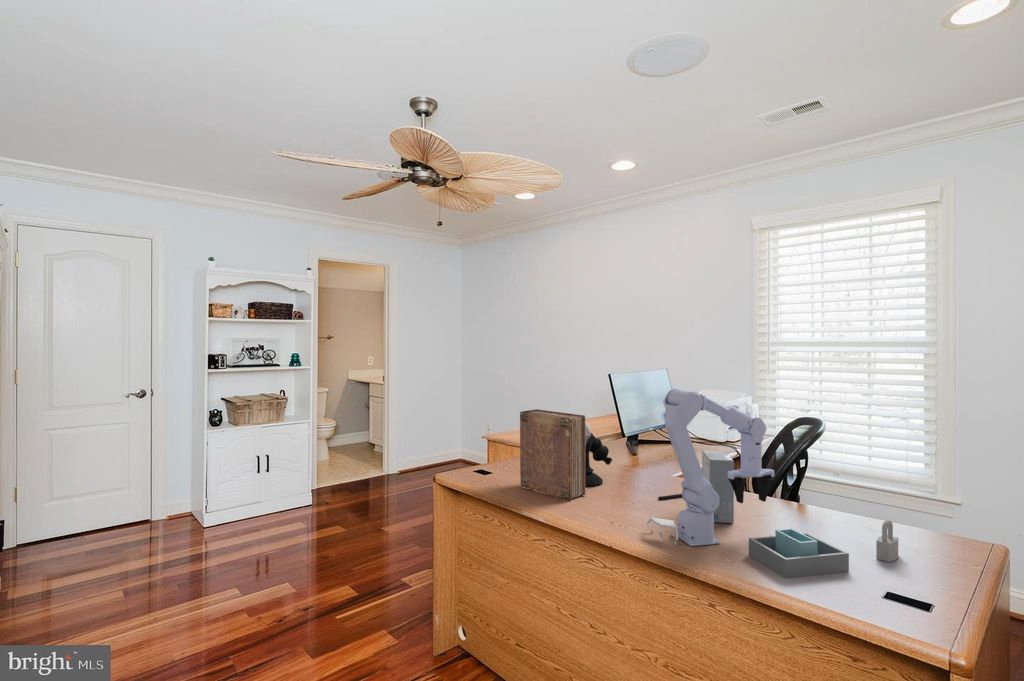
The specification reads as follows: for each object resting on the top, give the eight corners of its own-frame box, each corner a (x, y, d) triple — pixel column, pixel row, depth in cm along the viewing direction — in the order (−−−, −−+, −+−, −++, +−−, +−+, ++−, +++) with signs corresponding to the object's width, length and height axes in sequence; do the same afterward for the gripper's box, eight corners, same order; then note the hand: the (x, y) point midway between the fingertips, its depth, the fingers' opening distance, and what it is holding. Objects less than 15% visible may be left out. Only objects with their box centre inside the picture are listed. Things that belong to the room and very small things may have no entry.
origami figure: (689, 538, 151) (689, 521, 151) (676, 547, 145) (676, 529, 145) (651, 528, 159) (651, 512, 159) (638, 536, 153) (637, 519, 153)
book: (586, 496, 192) (585, 415, 192) (570, 501, 186) (570, 418, 186) (536, 482, 211) (535, 409, 211) (520, 487, 204) (519, 411, 204)
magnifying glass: (648, 496, 194) (648, 491, 194) (714, 488, 205) (714, 483, 205) (671, 507, 181) (671, 501, 181) (740, 497, 192) (740, 492, 192)
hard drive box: (734, 524, 163) (734, 461, 163) (708, 522, 164) (708, 460, 164) (724, 508, 178) (724, 450, 178) (701, 507, 179) (700, 449, 179)
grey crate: (785, 578, 126) (785, 559, 126) (748, 554, 140) (748, 538, 140) (848, 571, 130) (848, 553, 130) (806, 549, 143) (806, 532, 143)
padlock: (883, 551, 142) (883, 515, 142) (901, 556, 138) (901, 519, 138) (873, 558, 137) (873, 520, 137) (891, 563, 134) (891, 525, 134)
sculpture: (557, 481, 212) (557, 420, 212) (595, 472, 227) (595, 415, 227) (585, 489, 201) (585, 425, 201) (623, 479, 216) (623, 419, 216)
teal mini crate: (800, 566, 130) (800, 542, 130) (775, 552, 139) (775, 529, 139) (817, 564, 131) (817, 541, 131) (791, 550, 140) (791, 528, 140)
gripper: (737, 460, 150) (737, 507, 150) (781, 458, 153) (781, 503, 153) (723, 455, 157) (723, 499, 157) (765, 452, 160) (765, 496, 160)
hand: (751, 501), depth 156 cm, fingers open, 7 cm apart
